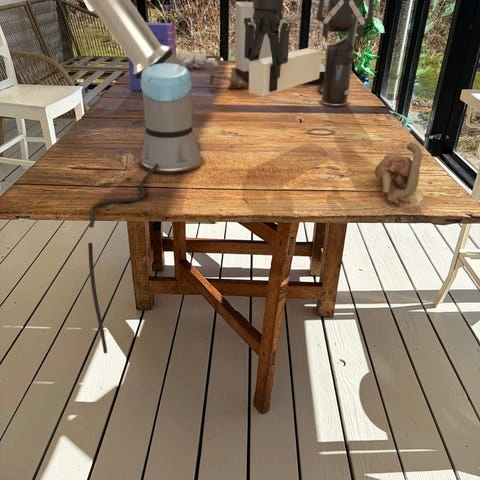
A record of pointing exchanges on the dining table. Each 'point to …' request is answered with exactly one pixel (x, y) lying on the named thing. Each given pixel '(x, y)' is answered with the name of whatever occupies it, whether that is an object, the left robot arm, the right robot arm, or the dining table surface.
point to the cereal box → (164, 36)
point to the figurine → (234, 78)
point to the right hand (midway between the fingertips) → (341, 39)
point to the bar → (285, 71)
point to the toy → (194, 59)
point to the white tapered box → (244, 12)
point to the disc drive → (321, 76)
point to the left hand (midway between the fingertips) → (264, 88)
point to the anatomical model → (399, 174)
